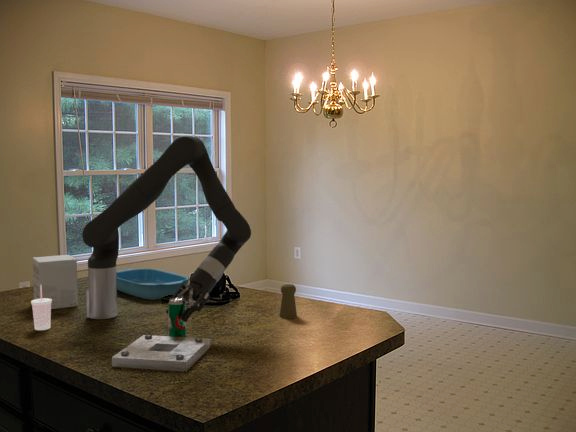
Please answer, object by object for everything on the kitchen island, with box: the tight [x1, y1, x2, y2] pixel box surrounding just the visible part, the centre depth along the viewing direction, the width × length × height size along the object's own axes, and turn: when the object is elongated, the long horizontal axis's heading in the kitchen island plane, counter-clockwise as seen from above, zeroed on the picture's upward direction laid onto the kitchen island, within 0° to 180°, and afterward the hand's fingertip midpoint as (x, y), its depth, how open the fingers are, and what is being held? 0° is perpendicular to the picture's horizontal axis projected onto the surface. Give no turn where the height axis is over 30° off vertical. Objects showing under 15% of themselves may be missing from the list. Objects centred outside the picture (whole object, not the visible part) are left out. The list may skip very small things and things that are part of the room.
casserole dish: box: [116, 268, 190, 301], centre depth 240 cm, size 37×22×7 cm, turn 46°
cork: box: [279, 283, 298, 319], centre depth 203 cm, size 6×6×11 cm
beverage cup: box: [30, 285, 52, 331], centre depth 187 cm, size 6×6×14 cm
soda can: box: [167, 297, 187, 337], centre depth 176 cm, size 5×5×12 cm
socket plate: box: [111, 334, 211, 372], centre depth 161 cm, size 20×20×3 cm
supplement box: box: [32, 254, 79, 310], centre depth 218 cm, size 13×13×18 cm
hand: (175, 317), depth 176 cm, fingers open, 8 cm apart
